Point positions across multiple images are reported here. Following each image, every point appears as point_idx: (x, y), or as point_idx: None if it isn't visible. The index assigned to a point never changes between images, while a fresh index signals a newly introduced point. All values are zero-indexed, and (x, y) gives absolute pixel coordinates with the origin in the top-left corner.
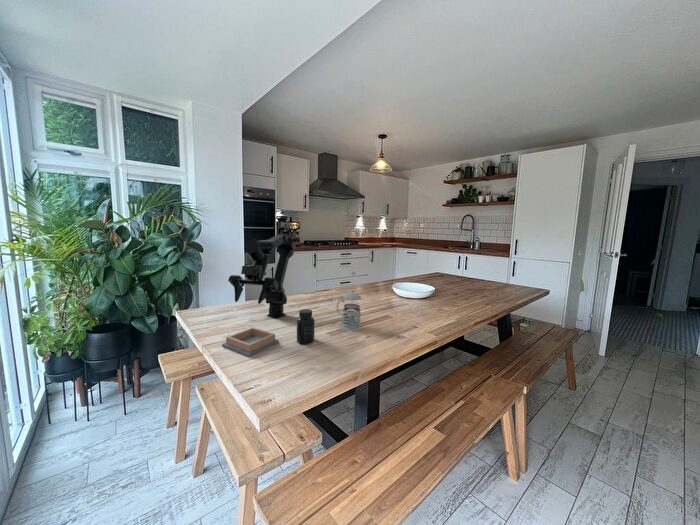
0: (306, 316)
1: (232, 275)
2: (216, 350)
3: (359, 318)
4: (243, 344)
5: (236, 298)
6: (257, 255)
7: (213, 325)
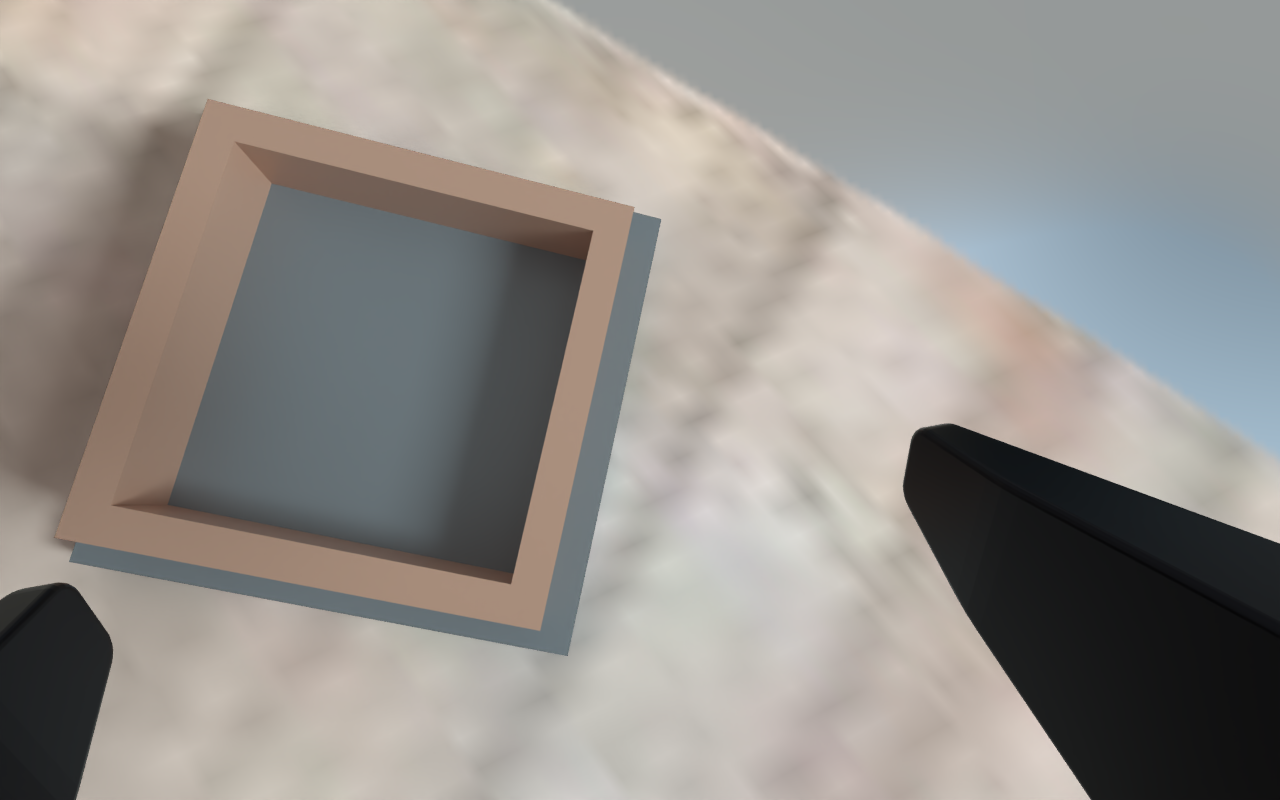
0: None
1: None
2: (644, 147)
3: None
4: (316, 132)
5: (968, 462)
6: None
7: None
